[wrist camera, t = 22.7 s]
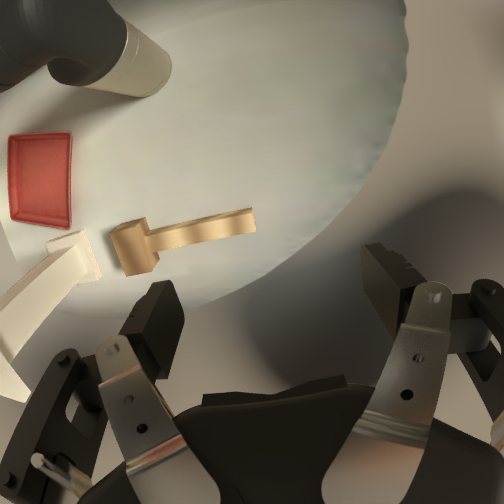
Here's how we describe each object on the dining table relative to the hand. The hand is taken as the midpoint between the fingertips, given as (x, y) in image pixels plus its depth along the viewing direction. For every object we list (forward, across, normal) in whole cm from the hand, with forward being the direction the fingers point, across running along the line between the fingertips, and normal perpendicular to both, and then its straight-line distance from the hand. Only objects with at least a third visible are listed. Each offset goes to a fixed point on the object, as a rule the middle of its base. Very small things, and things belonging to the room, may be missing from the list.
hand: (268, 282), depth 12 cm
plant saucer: (+35, +40, -10) cm, 54 cm away
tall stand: (+34, +39, +8) cm, 52 cm away
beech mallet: (+34, +14, +8) cm, 38 cm away
